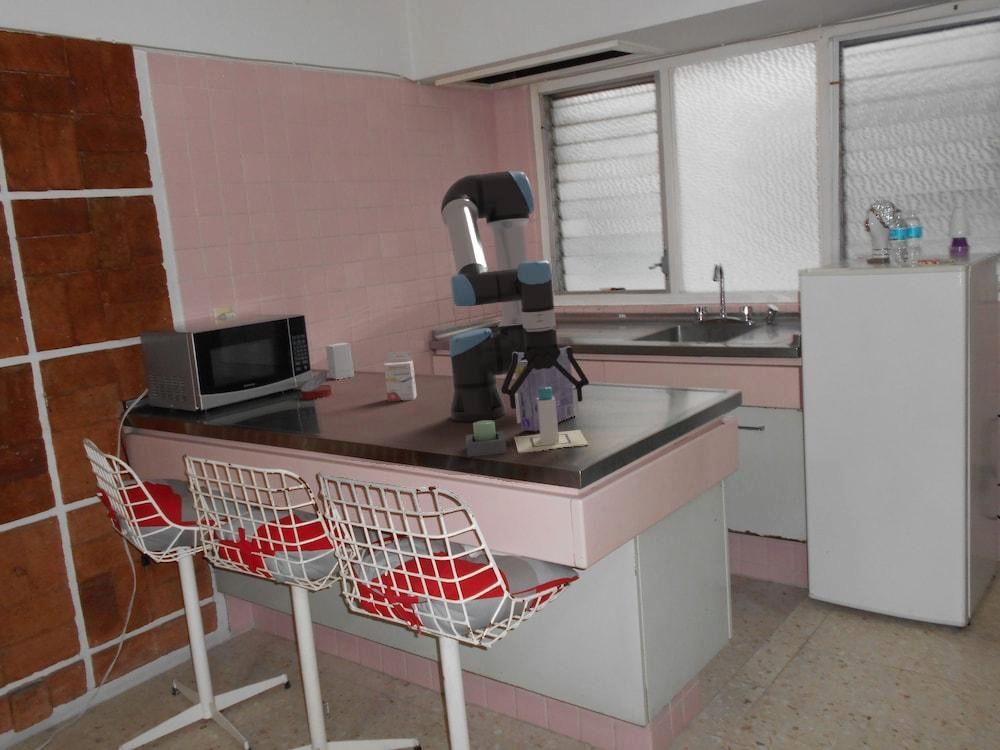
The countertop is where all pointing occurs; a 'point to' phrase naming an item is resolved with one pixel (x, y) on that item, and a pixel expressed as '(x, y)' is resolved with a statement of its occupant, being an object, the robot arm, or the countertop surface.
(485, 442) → the button box
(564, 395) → the cake pan box
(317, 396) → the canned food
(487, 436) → the button
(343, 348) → the supplement box
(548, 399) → the teal capped white bottle
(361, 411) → the countertop surface
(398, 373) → the ink cartridge box
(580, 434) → the cream square mat
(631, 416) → the countertop surface
